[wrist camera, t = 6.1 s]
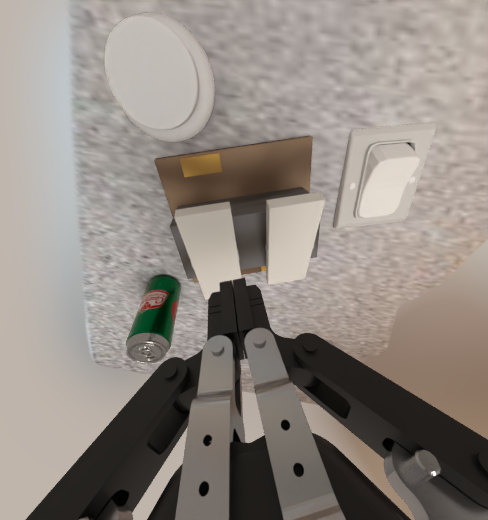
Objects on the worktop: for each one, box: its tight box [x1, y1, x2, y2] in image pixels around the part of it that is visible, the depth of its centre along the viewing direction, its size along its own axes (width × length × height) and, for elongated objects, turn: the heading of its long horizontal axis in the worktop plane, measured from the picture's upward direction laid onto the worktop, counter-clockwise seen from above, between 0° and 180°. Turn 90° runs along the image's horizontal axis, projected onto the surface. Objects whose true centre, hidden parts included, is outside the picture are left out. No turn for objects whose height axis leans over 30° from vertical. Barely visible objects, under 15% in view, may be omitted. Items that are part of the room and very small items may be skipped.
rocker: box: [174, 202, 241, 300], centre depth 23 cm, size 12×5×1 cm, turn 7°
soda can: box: [126, 276, 181, 364], centre depth 30 cm, size 5×5×12 cm
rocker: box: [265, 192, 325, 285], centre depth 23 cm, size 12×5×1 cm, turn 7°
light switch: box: [333, 122, 436, 229], centre depth 28 cm, size 11×4×13 cm
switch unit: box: [154, 136, 320, 283], centre depth 27 cm, size 18×18×7 cm
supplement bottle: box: [104, 12, 215, 142], centre depth 17 cm, size 7×7×13 cm
